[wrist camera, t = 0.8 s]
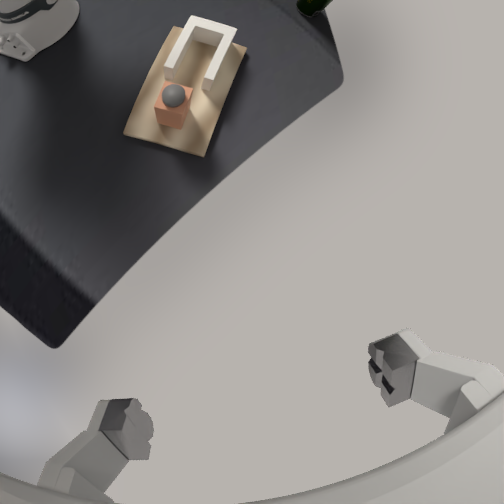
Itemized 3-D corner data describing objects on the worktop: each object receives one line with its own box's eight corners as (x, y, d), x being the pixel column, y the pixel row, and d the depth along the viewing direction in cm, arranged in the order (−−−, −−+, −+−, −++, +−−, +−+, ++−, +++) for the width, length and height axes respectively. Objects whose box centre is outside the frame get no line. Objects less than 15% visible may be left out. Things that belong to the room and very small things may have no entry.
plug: (157, 123, 41) (153, 103, 31) (166, 101, 40) (164, 77, 31) (181, 129, 42) (182, 112, 32) (189, 107, 42) (193, 85, 32)
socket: (164, 78, 40) (163, 66, 35) (189, 29, 39) (191, 15, 34) (209, 91, 42) (213, 80, 37) (231, 42, 41) (237, 28, 36)
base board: (124, 135, 41) (122, 133, 40) (173, 30, 39) (173, 26, 38) (203, 157, 45) (204, 156, 44) (245, 51, 43) (247, 47, 42)
